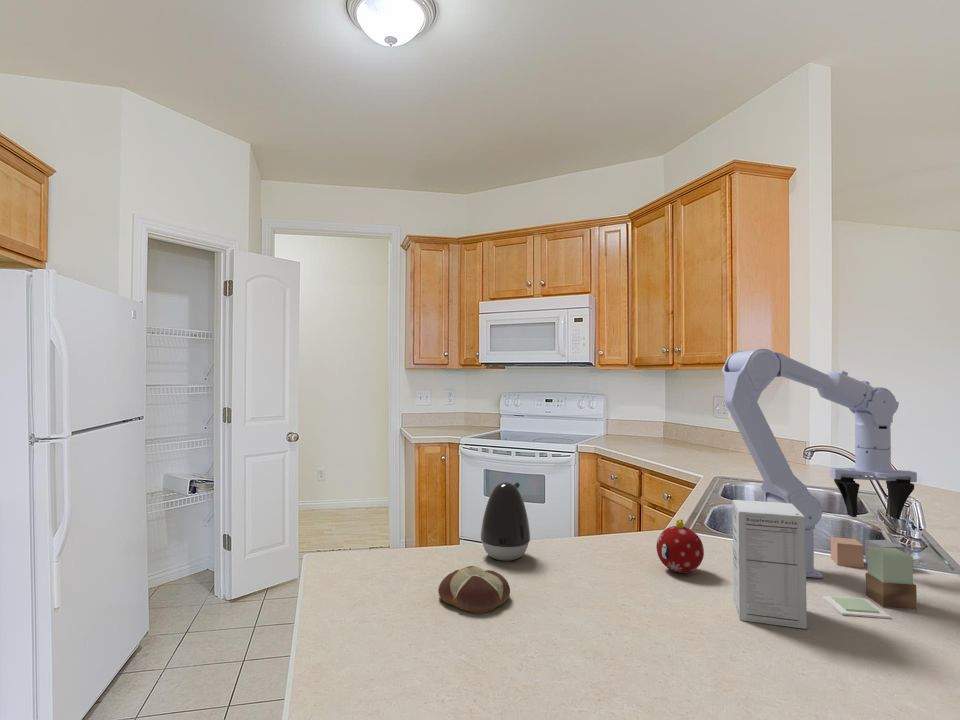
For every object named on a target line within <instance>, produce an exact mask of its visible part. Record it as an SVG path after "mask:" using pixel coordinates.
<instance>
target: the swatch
mask: <svg viewBox="0 0 960 720" xmlns="http://www.w3.org/2000/svg"><path fill="white" fill-rule="evenodd" d="M820 598H821V599H823V600H824V601H825V602H826V603H827V604H829V605H830V606H831V607H832V608H833V609H834V610H835V611H837V613H839V614H840V615H842V616H851V617H863V618H864V617H865V618H878V619H888V620H889V619H890V620H891V619H892V617H891V615H889V614H888V613H887V612H885V611H884V610H882V609H881V608H880V607H879V606H877V605H876V604H874V603H873V602H872V601H870V600H869V599H867V598H856V597H846V596H845V597H844V596H830V595H821V597H820Z"/></svg>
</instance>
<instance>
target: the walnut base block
mask: <svg viewBox="0 0 960 720" xmlns="http://www.w3.org/2000/svg"><path fill="white" fill-rule="evenodd" d="M917 592H918V591H917V585H916V584H915V583H913V584H896V583H883V582H881V581H880V580H878V579H876V578H875V577H873V576H871V575H870V574H868V572H865V596H866V597H868V598H869V599H870V600H871V601H873V602H874V603H876V604H877V605H879V606H881V607H882V608H883V609H885V608H887V609H899V610H900V609H901V610H915V611H916V610H917V608H918V607H917V606H918V602H917Z"/></svg>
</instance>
